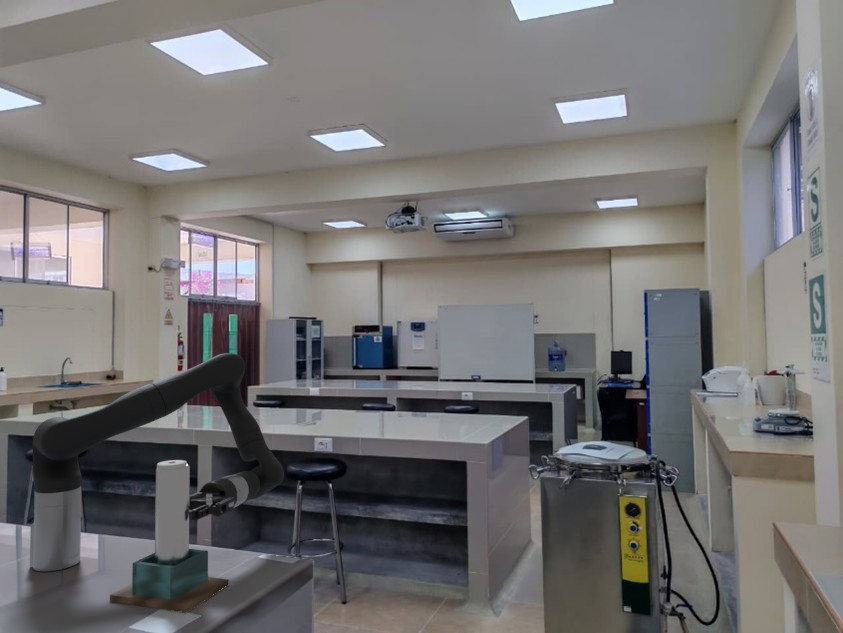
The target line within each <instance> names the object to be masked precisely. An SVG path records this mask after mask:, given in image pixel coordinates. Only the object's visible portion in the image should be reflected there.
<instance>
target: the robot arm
mask: <svg viewBox="0 0 843 633" xmlns="http://www.w3.org/2000/svg"><path fill="white" fill-rule="evenodd" d="M245 372H246V361H245V360H244V358H243V357H242V356H240V355H238V354H236V353H233V352H224V353H221V354H217V355H215V356H213V357H211V358H209V359H207V360H205V361H203V362H202V363H199V364H197V365H195V366H193V367H191V368H188V369H185V370H183V371H181V372H178V373H175V374H173V375H169V376H168V377H165V378H162V379H159V380H155V381H154V382H153V381H152V382H150V383H148V384H145V385H142V386H140V387H138V388H134V389H132V390H129V391H128V392H126V393H125V394H122V395H121V396H120V397H117V399H115V400H113V401H112V402H111V403H108V404H107V405H104V406H103V407H100V408H99V409H97V410H94V411H90V412H88V413H84V414H82V415H78V416H75V417H71V418H66V417H61V416H57V417H54V416H53V417H51V418H48V419H46V420H44V421H42V422H41V423H40V424H39V425H38V427H36V429H35V430H34V433H33V437H32V438H33V440H32V478H33V482H34V483H33V484H34V501H33V503H34V509H33V510H34V511H33V512H34V513H33V515H34V516H33V523H31V525H30V538H29V539H30V543H29V545H30V546H29V547H30V548H29V549H30V550H29V567H31V568H32V570H34V571H37V572H54V571H60V570H64V569H67V568H71V567H73V566H76V565H77V564H79V563H80V562H81V543H82V542H81V539H82V538H81V534H82V532H81V531H82V477H83V476H82V473H81V470H80V465H79V455H80V454H82V453H83V452H85V451H87V450H89V449H91V448H92V447H94V446H96V445H99V444H100V443H102V442H104V441H106V440H108V439H110V438H112V437H115V436H118V435H121V434H124V433H126V432H129V431H132V430H134V429H137V428H139V427H142V426H145V425H147V424H150V423H153V422H155V421H157V420H159V419H162V418H165V417H167V416H168V415H171V414H172V413H174V412H176V411H177V410H178V409H181V407H183V406H185V405H186V404H187V403H188V402H190V401H191V400H192V399H194V398H196V396H199V394H201V393H203V392H205V391H207V390H210V391H211V393H212V394H213V396H214V398H215V399H216V401H217V403H218V405H219V407H220V408H221V410H222V412H223V415H224V416H225V419H226V421H227V424H228V425H229V429H230V431H231V434H232V436H233V439H234V442H235V445H236V448H237V450H238V452H239V456H240V457H241V460H242V461H244V462H253V461H255V460H257V462H259V464H258V465H257V466H255V467H254V468H252V469H250V470H244V471H240V472H237V473H234V474H231V475H225V476H223V477H219V478H217V479H214V480H211V481H209V482H207V483H205V484H204V485H203V486H202V487H201V488H200V490H199V491H198V492H194V493H193V494H189V513H191V520H192V521H198V520H200V519H202V518H205V517H209V518H210V517H212V516H213V517H221V516H223V515H225V514H226V513H228V512H231V511H233V510H234V509H235V508H236V507H238V506H241V504H243V503H245V502H247V501H249V500H250V501H251V500H255V499H258V498H260V497H262V496H263V495H265V494H267V493H268V492H270V491H271V490H273V489H274V488H276V487H277V486H280V485H281V484H282V483H283V481H284V479H285V472H284V468H283V466H282V464H281V462H279V460H278V458H276V457H275V454H273V452H272V451H271V450H270V448H269V447H268V445H267V443H266V440H265V437H264V435H263V433H262V430H261V427H260V425H259V423H258V421H257V419H256V418H255V417H254V416H253V414H252V413H251V412H250V410H249V409H248V408H247V406H246V405H245V402H244V400H243V397H242V393H241V387H240V384H241V383H242V380H243V377H244V376H245Z"/></svg>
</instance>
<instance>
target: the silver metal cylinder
mask: <svg viewBox="0 0 843 633" xmlns="http://www.w3.org/2000/svg"><path fill="white" fill-rule="evenodd" d="M190 466H191V465H190V464H188V461H187V460H183V459H173V460H171V459H169V460H163V461H160V462H157V464H156V469H155V497H154V498H155V506H154V507H155V508H154V510H155V511H154V513H155V516H154V518H155V519H154V553H155V564H161V565H169V566H175V565H177V564H179V563H181V562H183V561H185V560H187V559H189V549H190V512H189V495H190V474H191V472H190V468H191V467H190Z"/></svg>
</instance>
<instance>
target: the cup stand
mask: <svg viewBox="0 0 843 633" xmlns="http://www.w3.org/2000/svg"><path fill="white" fill-rule="evenodd" d="M131 572H132V577H131V578H132V580H131V581H132V582H131V583H130V584H128V585H126V586H124V587H123V588H120V589H119V590H116V591H114V592H113V593H110V594H109V602H113V603H121V604H125V605H132V606H141V607H146V608H151V609H152V608H153V609H159V610H165V609H166V611H171V610H174V612H178V611H182V612H181V613H184V612H187V613H188V611H189V610H190V611H192V610H193V609H195V608H197V607H198V606H200V605H201V604H202V602H203V601H204V600H206V599H207V598H209V597H210V596H212V595H213V594H215V593H216V594H218V593H219V592H220V591H219V590H221V589H222V588H224V587H225V586H227V585H228V584H229V583H230V579H227V578H221V577H220V578H219V577H212V576H209V550H204V549H203V550H202V549H195V548H189V559H187V560H185V561H183V562H181V563H179V564H177V565H175V566H169V565H161V564H155V552H153V553H152V554H149V555H146V556H144V557H142V558H140V559H138V560H136V561H134V562H132V571H131ZM229 585H230V584H229ZM227 587H228V586H227ZM224 589H225V588H224ZM222 590H223V589H222ZM222 590H221V591H222ZM218 591H219V592H218ZM217 592H218V593H217ZM216 594H215V595H216ZM213 596H214V595H213ZM213 596H212V597H213ZM210 598H211V597H210ZM210 598H209V599H210ZM207 600H208V599H207ZM207 600H206V601H207ZM204 602H205V601H204ZM204 602H203V603H204ZM200 603H201V604H200ZM197 605H198V606H197ZM194 607H195V608H194ZM191 609H192V610H191ZM190 611H189V612H190Z"/></svg>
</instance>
